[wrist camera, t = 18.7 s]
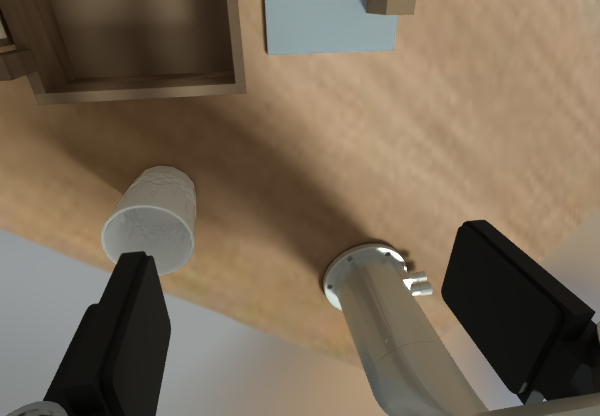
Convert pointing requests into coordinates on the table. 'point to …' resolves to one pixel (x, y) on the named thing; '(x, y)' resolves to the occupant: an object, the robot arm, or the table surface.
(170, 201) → the white cup
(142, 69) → the toolbox
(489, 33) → the table surface
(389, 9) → the lid
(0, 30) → the beige rectangular bar
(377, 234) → the table surface
